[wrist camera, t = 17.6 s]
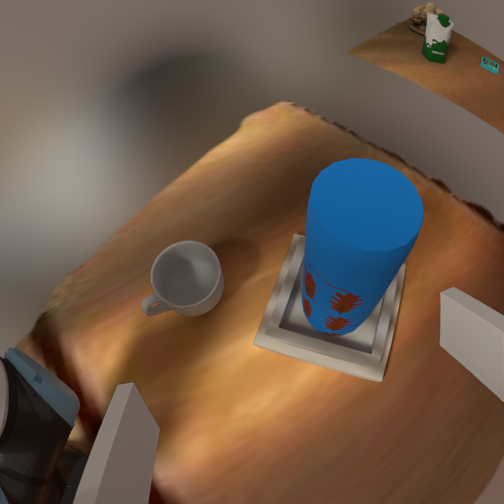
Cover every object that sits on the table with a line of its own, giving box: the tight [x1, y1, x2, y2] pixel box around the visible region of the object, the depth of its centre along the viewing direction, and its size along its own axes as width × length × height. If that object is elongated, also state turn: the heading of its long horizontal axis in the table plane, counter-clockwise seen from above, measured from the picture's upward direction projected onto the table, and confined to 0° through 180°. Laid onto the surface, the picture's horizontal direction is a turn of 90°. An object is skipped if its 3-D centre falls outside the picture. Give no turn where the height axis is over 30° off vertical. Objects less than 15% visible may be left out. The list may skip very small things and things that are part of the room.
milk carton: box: [422, 13, 454, 63], centre depth 80 cm, size 9×9×20 cm
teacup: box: [141, 241, 224, 316], centre depth 50 cm, size 14×11×8 cm
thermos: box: [301, 158, 424, 336], centre depth 37 cm, size 11×11×25 cm
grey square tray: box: [253, 234, 406, 382], centre depth 48 cm, size 20×20×4 cm
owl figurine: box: [409, 3, 444, 36], centre depth 95 cm, size 18×12×17 cm, turn 54°
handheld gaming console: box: [480, 56, 499, 74], centre depth 89 cm, size 8×1×15 cm
